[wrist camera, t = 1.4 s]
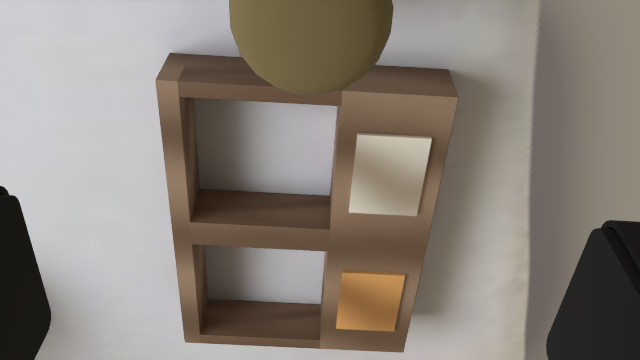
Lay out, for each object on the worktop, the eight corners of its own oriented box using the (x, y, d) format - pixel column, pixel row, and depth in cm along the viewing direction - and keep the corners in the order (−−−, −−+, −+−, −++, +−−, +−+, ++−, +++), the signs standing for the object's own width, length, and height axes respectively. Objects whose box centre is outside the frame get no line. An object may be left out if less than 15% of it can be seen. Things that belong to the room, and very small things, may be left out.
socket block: (169, 53, 30) (154, 82, 27) (448, 69, 30) (459, 99, 28) (193, 306, 41) (184, 344, 38) (398, 316, 41) (403, 355, 38)
